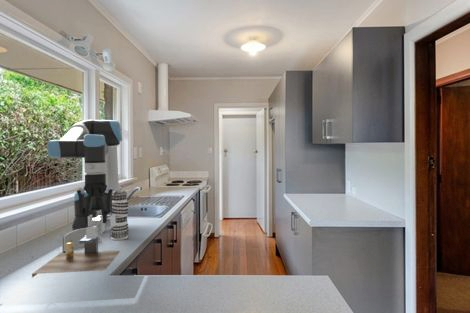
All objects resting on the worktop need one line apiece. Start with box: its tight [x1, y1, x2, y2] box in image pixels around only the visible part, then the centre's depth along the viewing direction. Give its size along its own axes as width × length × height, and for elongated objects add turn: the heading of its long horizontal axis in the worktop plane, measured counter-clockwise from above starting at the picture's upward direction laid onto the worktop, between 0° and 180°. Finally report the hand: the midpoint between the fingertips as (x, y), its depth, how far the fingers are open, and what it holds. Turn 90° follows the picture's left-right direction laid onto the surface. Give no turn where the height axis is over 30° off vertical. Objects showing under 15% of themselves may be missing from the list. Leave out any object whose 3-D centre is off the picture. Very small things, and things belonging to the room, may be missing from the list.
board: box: [31, 250, 121, 278], centre depth 115 cm, size 20×26×1 cm
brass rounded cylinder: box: [65, 242, 75, 259], centre depth 118 cm, size 3×3×8 cm
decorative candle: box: [110, 189, 129, 241], centre depth 148 cm, size 9×9×25 cm
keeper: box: [79, 235, 99, 254], centre depth 120 cm, size 8×5×9 cm, turn 6°
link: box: [86, 214, 116, 239], centre depth 115 cm, size 19×7×6 cm, turn 7°
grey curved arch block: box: [61, 228, 102, 253], centre depth 134 cm, size 17×5×10 cm, turn 139°
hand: (96, 231), depth 112 cm, fingers closed on link, 4 cm apart
